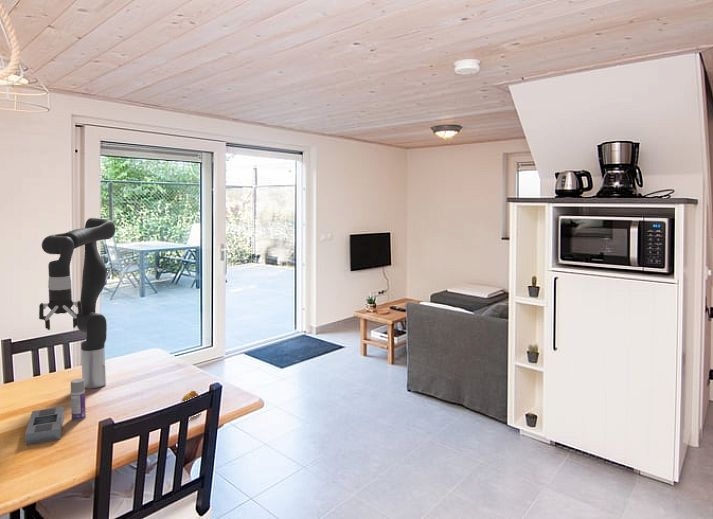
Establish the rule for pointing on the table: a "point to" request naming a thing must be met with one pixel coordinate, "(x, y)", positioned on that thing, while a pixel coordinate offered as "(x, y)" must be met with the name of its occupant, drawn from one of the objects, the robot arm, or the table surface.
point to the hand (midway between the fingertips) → (61, 328)
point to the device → (45, 426)
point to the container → (78, 400)
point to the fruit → (189, 395)
